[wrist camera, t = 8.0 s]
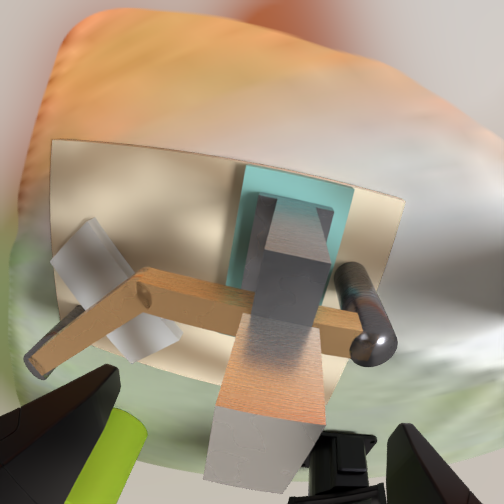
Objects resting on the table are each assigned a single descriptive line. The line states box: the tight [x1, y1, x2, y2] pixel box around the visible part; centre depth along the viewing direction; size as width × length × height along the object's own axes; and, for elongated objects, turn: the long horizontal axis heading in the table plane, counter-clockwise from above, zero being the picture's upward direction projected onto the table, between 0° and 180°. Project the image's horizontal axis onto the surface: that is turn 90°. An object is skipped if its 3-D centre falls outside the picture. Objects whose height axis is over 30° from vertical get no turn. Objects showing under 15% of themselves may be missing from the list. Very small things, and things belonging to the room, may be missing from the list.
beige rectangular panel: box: [50, 139, 406, 405], centre depth 21 cm, size 17×24×2 cm
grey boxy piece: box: [203, 192, 334, 494], centre depth 13 cm, size 4×8×12 cm, turn 170°
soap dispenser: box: [64, 408, 148, 504], centre depth 21 cm, size 6×7×20 cm
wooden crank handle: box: [24, 262, 398, 380], centre depth 17 cm, size 6×23×7 cm, turn 104°
